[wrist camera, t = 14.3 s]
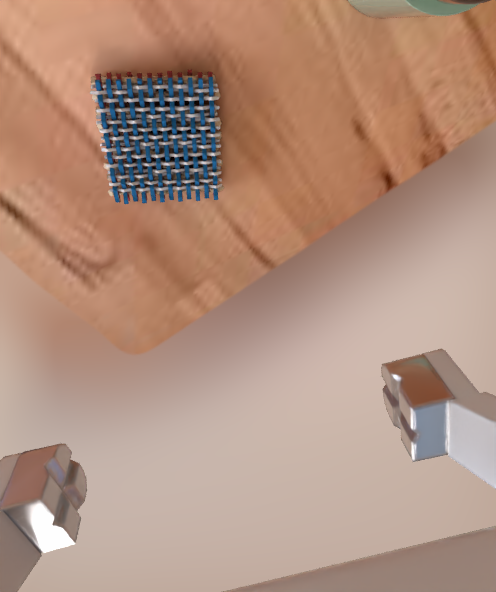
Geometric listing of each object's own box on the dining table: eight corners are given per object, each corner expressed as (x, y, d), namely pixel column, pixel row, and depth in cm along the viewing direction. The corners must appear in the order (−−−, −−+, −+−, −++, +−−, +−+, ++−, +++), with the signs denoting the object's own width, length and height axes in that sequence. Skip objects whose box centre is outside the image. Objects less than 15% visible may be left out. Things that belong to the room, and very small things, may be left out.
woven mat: (219, 68, 37) (220, 70, 35) (223, 193, 42) (225, 201, 41) (89, 70, 36) (84, 72, 34) (110, 198, 41) (107, 206, 40)
